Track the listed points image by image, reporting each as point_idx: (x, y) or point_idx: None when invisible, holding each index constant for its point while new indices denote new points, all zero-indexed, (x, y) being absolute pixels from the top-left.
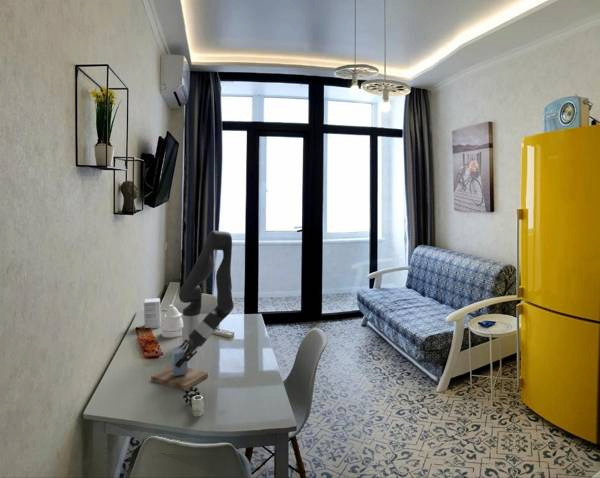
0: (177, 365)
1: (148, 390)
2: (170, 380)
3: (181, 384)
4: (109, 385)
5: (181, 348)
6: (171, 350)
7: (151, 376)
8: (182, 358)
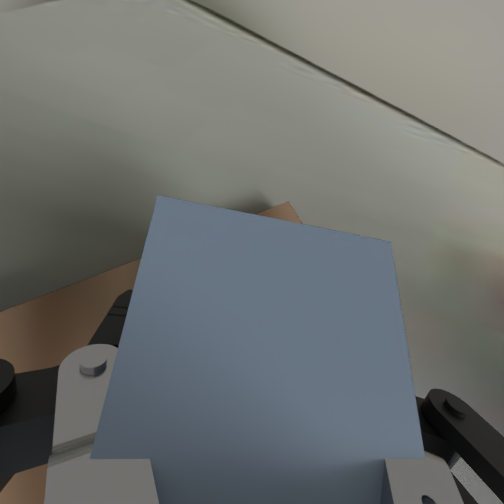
0: (127, 295)
1: (174, 166)
2: None
3: (13, 307)
4: (315, 95)
5: (391, 452)
6: (369, 241)
7: (285, 203)
8: (69, 361)
